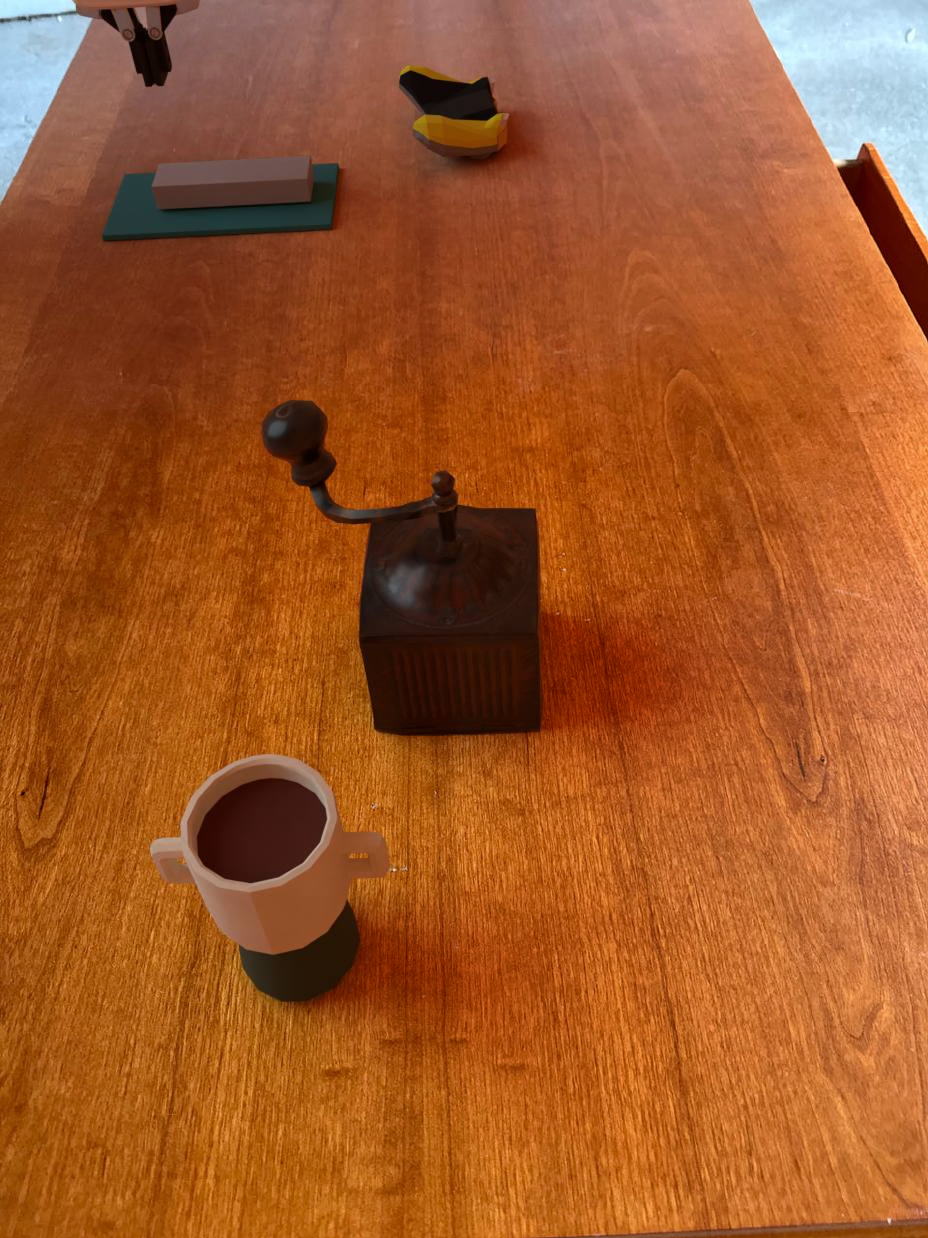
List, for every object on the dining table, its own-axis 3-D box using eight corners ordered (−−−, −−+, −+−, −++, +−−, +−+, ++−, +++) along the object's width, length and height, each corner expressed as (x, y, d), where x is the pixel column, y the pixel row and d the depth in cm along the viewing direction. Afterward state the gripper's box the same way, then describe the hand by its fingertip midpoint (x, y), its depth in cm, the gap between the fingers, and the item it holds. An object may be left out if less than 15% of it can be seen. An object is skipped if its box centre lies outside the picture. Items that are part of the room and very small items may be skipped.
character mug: (407, 885, 62) (384, 748, 53) (403, 1013, 58) (377, 888, 48) (209, 891, 63) (150, 756, 53) (190, 1018, 58) (121, 896, 48)
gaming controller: (418, 179, 114) (516, 166, 115) (414, 125, 110) (515, 112, 111) (399, 112, 124) (490, 101, 125) (395, 60, 120) (488, 49, 121)
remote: (151, 186, 109) (307, 178, 109) (158, 162, 112) (310, 155, 112) (158, 212, 111) (311, 204, 111) (165, 188, 114) (314, 181, 114)
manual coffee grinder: (540, 599, 76) (541, 378, 62) (544, 735, 69) (546, 518, 55) (308, 603, 77) (260, 385, 63) (288, 738, 69) (229, 524, 56)
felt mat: (103, 240, 109) (101, 235, 109) (125, 179, 117) (124, 173, 117) (331, 229, 109) (331, 223, 108) (339, 168, 117) (338, 162, 116)
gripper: (-7, -135, 88) (67, 103, 102) (185, -147, 87) (233, 93, 101) (17, -164, 93) (84, 67, 107) (199, -176, 92) (243, 57, 106)
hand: (157, 79), depth 104 cm, fingers closed
